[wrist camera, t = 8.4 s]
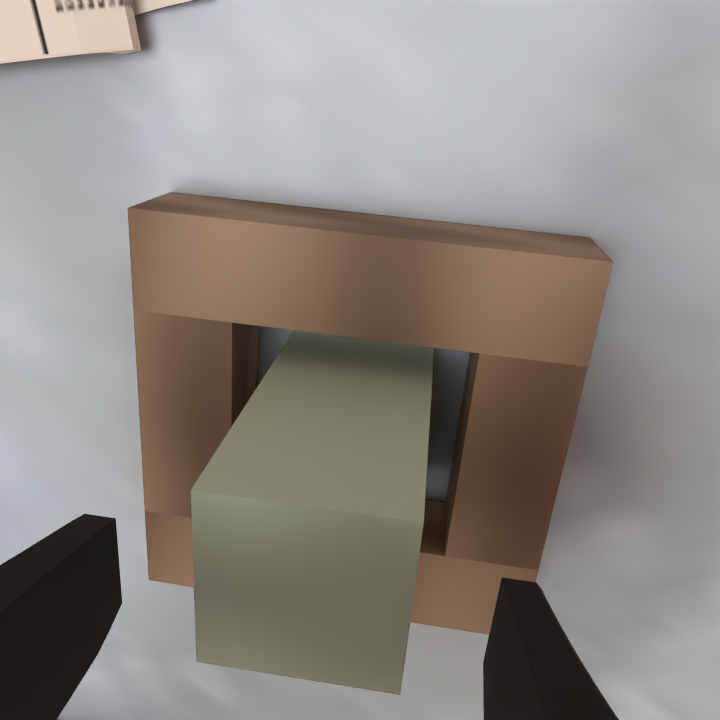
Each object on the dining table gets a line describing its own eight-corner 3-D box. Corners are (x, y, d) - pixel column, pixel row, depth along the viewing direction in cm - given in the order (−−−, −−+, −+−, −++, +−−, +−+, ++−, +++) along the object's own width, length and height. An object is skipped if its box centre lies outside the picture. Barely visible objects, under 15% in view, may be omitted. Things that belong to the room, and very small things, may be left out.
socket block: (180, 528, 22) (148, 580, 19) (170, 192, 17) (127, 207, 15) (513, 578, 21) (521, 639, 18) (590, 238, 16) (613, 261, 14)
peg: (288, 452, 20) (196, 661, 13) (293, 330, 18) (190, 490, 11) (418, 469, 20) (399, 694, 12) (434, 347, 18) (423, 522, 11)
